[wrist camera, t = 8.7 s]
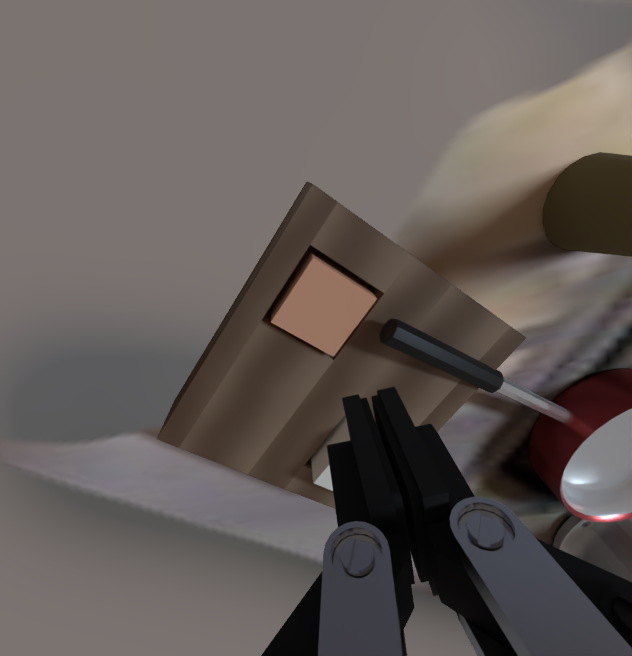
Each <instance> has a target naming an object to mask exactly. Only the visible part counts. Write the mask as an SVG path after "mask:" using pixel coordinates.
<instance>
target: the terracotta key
mask: <svg viewBox="0 0 632 656" xmlns="http://www.w3.org/2000/svg"><path fill="white" fill-rule="evenodd" d="M376 300H377V298H376V297H375V295H374V294H373V293H372V292H371V290H370V289H369V288H368V286H367V285H366V284H365V283H364V282H363V281H361V280H360V279H358V278H356V277H355V276H353V275H352V274H350V273H349V272H347V271H346V270H344V269H343V268H341V267H340V266H338V265H337V264H335V263H333V262H332V261H330V260H329V259H327V258H326V257H324V256H323V255H321V254H320V253H318V252H317V251H315V250H314V249H312V248H310V247H308V249H307V251H306V252H305V254H304V255H303V257H302V258H301V260H300V261H299V263H298V264H297V266H296V268H295V269H294V271H293V272H292V274H291V275H290V277H289V278H288V280H287V282H286V283H285V285H284V286H283V288H282V289H281V291H280V292H279V294H278V295H277V297H276V299H275V300H274V302H273V303H272V312H271V323H273V324H275V325H277V326H278V327H280V328H282V329H284V330H286V331H288V332H289V333H291V334H293V335H295V336H297V337H298V338H300V339H302V340H304V341H306V342H307V343H309V344H311V345H313V346H315V347H317V348H318V349H320V350H322V351H324V352H326V353H327V354H329V355H331V356H333V357H334V355H335V354H336V353H337V351H338V350H339V349H340V347H341V346H342V345H343V343H344V342H345V341H346V339H347V338H348V337H349V335H350V334H351V333H352V331H353V330H354V329H355V328H356V326H357V325H358V324H359V322H360V321H361V320H362V318H363V317H364V316H365V314H366V313H367V312H368V310H369V309H370V308H371V306H372V305H373V304H374V302H375V301H376Z"/></svg>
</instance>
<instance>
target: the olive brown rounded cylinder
mask: <svg viewBox="0 0 632 656" xmlns="http://www.w3.org/2000/svg"><path fill="white" fill-rule="evenodd" d="M543 226H544V229H545V232H546V236H547V237H548V238H549V239H550V240H551V242H552V243H553V244H554V245H556V246H558V247H560V248H562V249H564V250H572V251H582V252H592V253H602V254H612V255H622V256H632V156H628V155H620V154H611V153H602V152H599V153H596V154H592V155H588V156H585V157H583V158H581V159H580V160H578V161H576V162H575V163H573V164H571V165H570V166H569V167H568V168H567V169H566V170H565V171H564V172H563V173H562V174H561V175H560V176H559V177H558V178H557V180H556V181H555V183H554V185H553V186H552V188H551V189H550V191H549V193H548V196H547V199H546V202H545V205H544V208H543Z"/></svg>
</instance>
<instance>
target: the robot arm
mask: <svg viewBox="0 0 632 656" xmlns="http://www.w3.org/2000/svg"><path fill="white" fill-rule="evenodd" d="M342 401H343V406H344V411H345V416H346V421H347V426H348V431H349V436H350V440H349V441H344V442H340V443H335V444H330V445H327V452H328V459H329V466H330V473H331V480H332V487H333V494H334V501H335V508H336V515H337V522H338V528H337V529H336V530H335V531H334V532H333V533H332V534H331V535H330V536H329V538H328V540H327V542H326V544H325V549H324V553H323V571H322V572H321V574H320V575H319V577H318V578H317V579H316V581H315V582H314V583H313V585H312V586H311V587H310V589H309V590H308V592H307V593H306V594H305V596H304V597H303V599H302V600H301V601H300V603H299V604H298V605H297V607H296V608H295V610H294V611H293V612H292V614H291V615H290V617H289V618H288V619H287V621H286V622H285V623H284V625H283V626H282V628H281V629H280V630H279V632H278V633H277V635H276V636H275V637H274V639H273V640H272V641H271V643H270V644H269V646H268V647H267V648H266V650H265V651H264V653H263V654H262V655H261V656H407V652H406V643H405V636H404V627H405V625H406V623H407V621H408V619H409V617H410V615H411V613H412V611H413V609H414V602H413V595H412V588H411V584H415V582H414V575H413V567H412V560H411V555H412V558H413V561H414V564H415V567H416V570H417V573H418V576H419V579H420V581H421V582H426V581H429V584H430V587H431V590H432V593H433V596H435V595H439V597H440V600H441V602H442V603H444V604H445V605H447V606H448V607H450V608H451V609H453V610H454V611H456V613H457V616H458V618H459V621H460V623H461V625H462V626H463V629H464V631H465V633H466V635H467V637H468V639H469V640H470V642H471V644H472V646H473V648H474V650H475V652H476V654H477V656H632V518H630V519H626V520H622V521H615V522H593V521H588V520H583V519H581V518H579V517H577V516H574V515H572V516H571V517H570V518H569V519H568V520H567V521H566V522H565V523H564V524H563V525H562V526H561V528H560V529H559V530H558V532H557V534H556V536H555V539H554V543H553V546H551V545H549V544H547V543H545V542H542V541H540V540H538V539H536V538H535V537H534V536H533V534H532V533H531V532H530V531H529V530H528V529H527V528H526V526H525V525H524V524H523V523H522V522H521V521H520V520H519V518H518V517H517V516H516V515H515V514H514V513H513V512H512V511H511V510H510V509H509V508H507V507H506V506H505V505H503V504H501V503H499V502H497V501H495V500H492V499H489V498H486V497H475V496H474V495H473V493H472V491H471V489H470V488H469V486H468V484H467V483H466V481H465V479H464V477H463V476H462V474H461V472H460V471H459V469H458V467H457V465H456V464H455V462H454V460H453V459H452V457H451V455H450V454H449V452H448V450H447V448H446V447H445V445H444V443H443V442H442V440H441V438H440V436H439V435H438V433H437V431H436V430H435V428H434V427H433V425H432V424H426V425H421V426H416V427H415V425H414V423H413V421H412V420H411V418H410V416H409V414H408V412H407V410H406V408H405V406H404V404H403V402H402V400H401V398H400V396H399V394H398V392H397V390H396V388H395V387H390V388H385V389H381V390H377V395H375V396H372V404H373V410H374V417H375V420H374V417H373V414H372V411H371V409H370V406H369V403H368V400H367V398H366V397H365V398H361V399H360V396H359V394H357V395H352V396H347V397H343V398H342ZM410 551H411V553H410Z"/></svg>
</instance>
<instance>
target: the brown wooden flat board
mask: <svg viewBox="0 0 632 656" xmlns="http://www.w3.org/2000/svg"><path fill="white" fill-rule="evenodd" d="M308 247H310V248H312V249H314V250H315V251H317V252H318V253H320V254H321V255H323V256H324V257H326V258H327V259H329V260H330V261H332V262H333V263H335V264H337V265H338V266H340V267H341V268H343V269H344V270H346V271H347V272H349V273H350V274H352V275H353V276H355V277H356V278H358V279H360V280H361V281H363V282H364V283H365V284H366V285H367V286H368V288H369V289H370V290H371V292H372V293H373V294H374V295H375V297H376V298H377V300H376V301H375V302H374V304H373V305H372V306H371V308H370V309H369V310H368V312H367V313H366V314H365V316H364V317H363V318H362V320H361V321H360V322H359V324H358V325H357V326H356V328H355V329H354V330H353V331H352V333H351V334H350V335H349V337H348V338H347V339H346V341H345V342H344V343H343V345H342V346H341V347H340V349H339V350H338V351H337V353H336V354H335V355H334V357H333V356H331V355H329V354H327V353H326V352H324V351H322V350H320V349H318V348H317V347H315V346H313V345H311V344H309V343H307V342H306V341H304V340H302V339H300V338H298V337H297V336H295V335H293V334H291V333H289V332H288V331H286V330H284V329H282V328H280V327H278V326H277V325H275V324H273V323H271V312H272V303H273V302H274V300H275V299H276V297H277V295H278V294H279V292H280V291H281V289H282V288H283V286H284V285H285V283H286V282H287V280H288V278H289V277H290V275H291V274H292V272H293V271H294V269H295V268H296V266H297V264H298V263H299V261H300V260H301V258H302V257H303V255H304V254H305V252H306V251H307V249H308ZM390 319H398V320H400V321H402V322H404V323H406V324H408V325H410V326H412V327H414V328H416V329H418V330H420V331H422V332H424V333H426V334H428V335H430V336H432V337H434V338H435V339H437V340H439V341H441V342H443V343H445V344H447V345H449V346H451V347H453V348H455V349H457V350H459V351H461V352H463V353H465V354H467V355H469V356H471V357H472V358H474V359H476V360H478V361H480V362H482V363H484V364H486V365H488V366H490V367H491V368H492V369H494V370H496V369H497V368H498V367H499V366H500V365H501V364H502V363H503V362H504V361H505V360H506V359H507V358H508V357H509V356H510V355H511V353H512V352H513V351H514V350H515V349H516V348H517V347H518V346H519V345H520V344H521V343H522V342H523V341H524V340H525V339H526V337H525V336H523V335H522V334H520V333H519V332H518V331H516V330H515V329H513V328H512V327H511V326H509V325H508V324H506V323H505V322H504V321H502V320H501V319H500V318H498V317H497V316H495V315H494V314H493V313H491V312H490V311H488V310H487V309H486V308H484V307H483V306H482V305H480V304H479V303H477V302H476V301H475V300H473V299H472V298H470V297H469V296H468V295H466V294H465V293H463V292H462V291H461V290H459V289H458V288H457V287H455V286H454V285H452V284H451V283H450V282H448V281H447V280H445V279H444V278H443V277H441V276H440V275H438V274H437V273H436V272H434V271H433V270H432V269H430V268H429V267H427V266H426V265H425V264H423V263H422V262H420V261H419V260H418V259H416V258H415V257H413V256H412V255H411V254H409V253H408V252H407V251H405V250H404V249H402V248H401V247H400V246H398V245H397V244H395V243H394V242H393V241H391V240H390V239H388V238H387V237H386V236H384V235H383V234H382V233H380V232H379V231H377V230H376V229H375V228H373V227H372V226H370V225H369V224H368V223H366V222H365V221H363V220H362V219H361V218H359V217H358V216H356V215H355V214H353V213H352V212H351V211H350V210H348V209H347V208H345V207H344V206H343V205H341V204H340V203H338V202H337V201H336V200H334V199H333V198H332V197H330V196H329V195H327V194H326V193H325V192H323V191H322V190H320V189H319V188H318V187H316V186H315V185H313V184H312V183H309V182H306V184H305V185H304V187H303V189H302V190H301V192H300V194H299V195H298V197H297V199H296V200H295V202H294V204H293V205H292V207H291V209H290V210H289V212H288V213H287V215H286V217H285V219H284V220H283V222H282V223H281V225H280V227H279V228H278V230H277V232H276V234H275V235H274V237H273V238H272V240H271V242H270V243H269V245H268V247H267V248H266V250H265V252H264V253H263V255H262V257H261V258H260V260H259V261H258V263H257V265H256V266H255V268H254V270H253V271H252V273H251V275H250V276H249V278H248V280H247V281H246V283H245V285H244V286H243V288H242V290H241V291H240V293H239V295H238V296H237V298H236V300H235V301H234V303H233V305H232V306H231V308H230V309H229V312H228V313H227V315H226V316H225V318H224V320H223V321H222V323H221V325H220V326H219V328H218V329H217V331H216V333H215V334H214V336H213V338H212V339H211V341H210V343H209V344H208V346H207V348H206V349H205V351H204V353H203V354H202V356H201V358H200V359H199V361H198V363H197V364H196V366H195V367H194V369H193V371H192V372H191V374H190V376H189V377H188V379H187V381H186V382H185V384H184V386H183V388H182V389H181V391H180V392H179V394H178V396H177V397H176V399H175V401H174V403H173V405H172V407H171V409H170V412H169V414H168V416H167V418H166V420H165V422H164V425H163V427H162V429H161V431H160V433H159V435H158V438H157V439H158V440H161V441H163V442H166V443H168V444H171V445H174V446H176V447H179V448H181V449H184V450H186V451H189V452H191V453H194V454H197V455H199V456H202V457H204V458H207V459H209V460H212V461H214V462H217V463H220V464H222V465H225V466H227V467H230V468H232V469H235V470H237V471H240V472H243V473H245V474H248V475H250V476H253V477H255V478H258V479H260V480H263V481H266V482H268V483H271V484H273V485H276V486H278V487H281V488H283V489H286V490H289V491H291V492H294V493H296V494H299V495H301V496H304V497H306V498H309V499H312V500H314V501H317V502H319V503H322V504H324V505H327V506H329V507H332V508H335V501H334V494H333V491H331V490H329V489H326V488H324V487H322V486H319V485H317V484H314V483H313V474H312V465H311V456H312V455H313V454H314V452H315V451H316V450H317V449H318V448H319V446H320V445H321V444H322V443H323V441H324V440H325V439H326V438H327V437H328V435H329V434H330V433H331V432H332V430H333V429H334V428H335V427H336V426H337V424H338V423H339V422H340V421H341V419H342V418H343V417H344V416H345V411H344V406H343V401H342V398H343V397H347V396H352V395H357V394H359V396H360V399H361V398H365V397H366V398H367V400H368V403H369V406H370V409H371V411H372V414H373V417H374V410H373V404H372V396H375V395H377V390H381V389H385V388H390V387H395V388H396V390H397V392H398V394H399V396H400V398H401V400H402V402H403V404H404V406H405V408H406V410H407V412H408V414H409V416H410V418H411V420H412V421H413V423H414V425H415V427H416V426H421V425H426V424H432V425H433V427H434V428H435V430H436V431H437V432H438V430H439V429H440V428H441V427H442V426H443V425H444V424H445V423H446V422H447V421H448V420H449V419H450V418H451V417H452V416H453V415H454V414H455V413H456V411H457V410H458V409H459V408H460V407H461V406H462V405H463V404H464V403H465V402H466V401H467V400H468V399H469V398H470V397H471V396H472V395H473V394H474V392H475V391H476V390H477V389H478V388H479V387H476V386H474V385H472V384H470V383H468V382H465V381H463V380H461V379H459V378H457V377H455V376H452V375H450V374H448V373H446V372H444V371H441V370H439V369H437V368H435V367H433V366H430V365H428V364H426V363H424V362H422V361H420V360H417V359H415V358H413V357H411V356H409V355H406V354H404V353H402V352H400V351H398V350H396V349H393V348H391V347H389V346H387V345H385V344H382V343H381V342H380V332H381V329H382V327H383V325H384V324H385V323H386V322H387V321H388V320H390ZM374 420H375V417H374ZM335 509H336V508H335Z"/></svg>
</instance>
